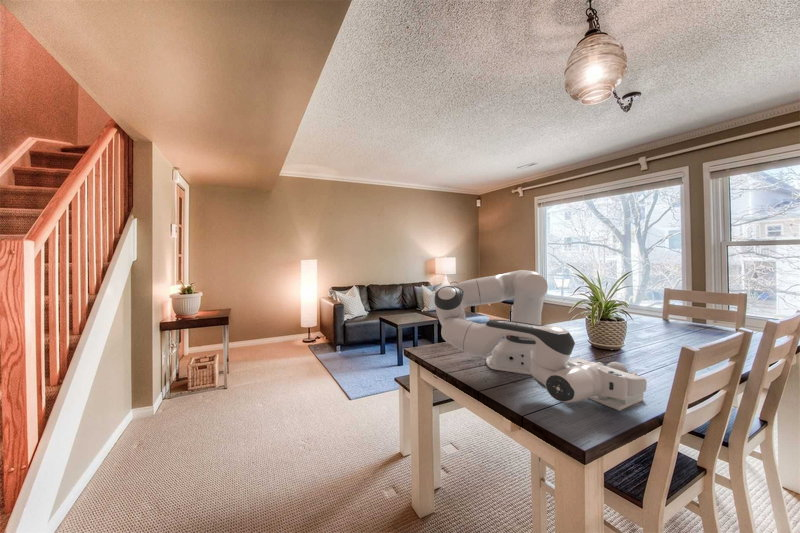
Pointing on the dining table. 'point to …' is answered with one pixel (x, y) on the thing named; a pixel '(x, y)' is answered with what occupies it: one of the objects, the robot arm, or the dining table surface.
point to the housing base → (618, 401)
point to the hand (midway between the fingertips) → (617, 369)
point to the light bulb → (617, 366)
